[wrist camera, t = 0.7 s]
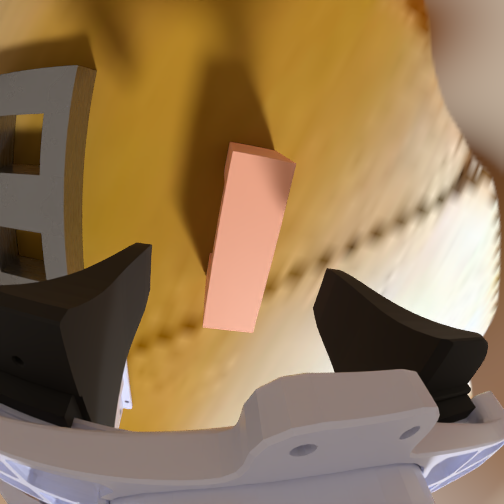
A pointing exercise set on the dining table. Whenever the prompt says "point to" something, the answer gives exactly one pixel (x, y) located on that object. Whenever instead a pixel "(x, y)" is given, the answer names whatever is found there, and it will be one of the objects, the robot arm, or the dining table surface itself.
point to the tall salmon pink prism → (245, 235)
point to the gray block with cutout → (44, 171)
